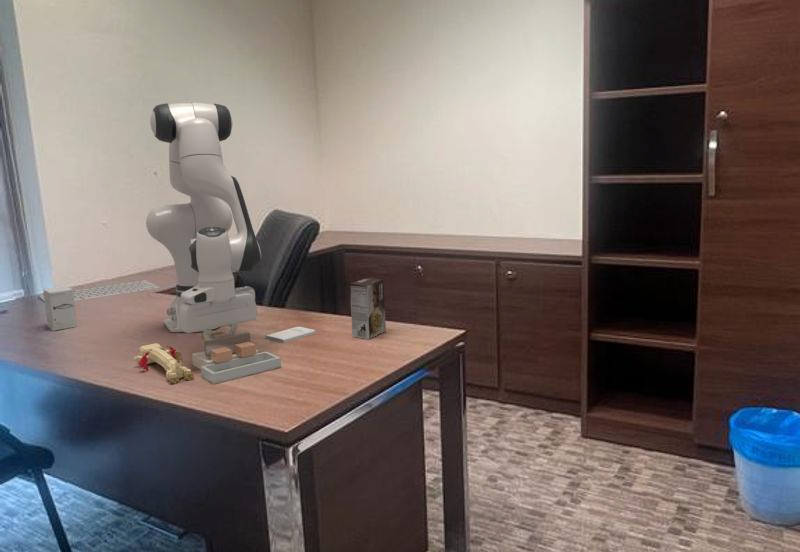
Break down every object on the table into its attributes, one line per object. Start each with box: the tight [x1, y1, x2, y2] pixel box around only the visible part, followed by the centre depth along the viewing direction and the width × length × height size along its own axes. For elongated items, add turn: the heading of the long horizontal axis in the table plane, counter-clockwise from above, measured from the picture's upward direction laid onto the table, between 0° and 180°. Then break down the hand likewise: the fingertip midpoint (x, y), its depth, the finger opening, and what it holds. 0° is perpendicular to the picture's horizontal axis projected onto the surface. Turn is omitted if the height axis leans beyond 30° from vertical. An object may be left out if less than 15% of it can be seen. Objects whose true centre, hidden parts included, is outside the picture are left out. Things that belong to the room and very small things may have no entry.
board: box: [191, 349, 260, 370], centre depth 178 cm, size 10×14×3 cm
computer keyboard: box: [37, 279, 161, 303], centre depth 277 cm, size 43×19×2 cm, turn 128°
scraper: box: [201, 329, 252, 357], centre depth 180 cm, size 14×12×4 cm
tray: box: [200, 351, 282, 385], centre depth 171 cm, size 8×18×2 cm, turn 128°
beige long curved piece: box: [133, 342, 195, 385], centre depth 174 cm, size 10×9×25 cm
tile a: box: [210, 347, 233, 363], centre depth 172 cm, size 4×4×2 cm
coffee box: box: [349, 277, 387, 340], centre depth 200 cm, size 9×6×16 cm
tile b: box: [235, 341, 257, 357], centre depth 176 cm, size 4×4×2 cm
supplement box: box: [42, 286, 78, 332], centre depth 222 cm, size 7×7×13 cm
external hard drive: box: [265, 326, 316, 344], centre depth 203 cm, size 2×8×12 cm
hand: (221, 342), depth 179 cm, fingers closed on scraper, 3 cm apart
